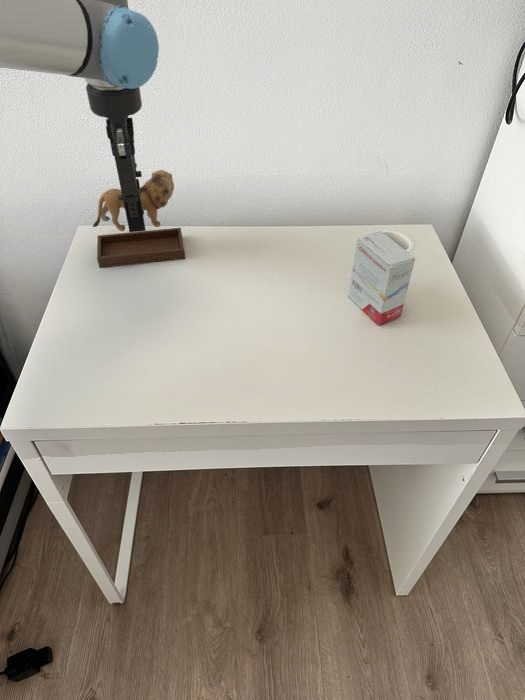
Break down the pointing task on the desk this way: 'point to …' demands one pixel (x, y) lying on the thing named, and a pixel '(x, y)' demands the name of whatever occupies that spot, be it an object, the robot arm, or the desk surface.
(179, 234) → the tray
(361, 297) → the ink box
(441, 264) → the desk surface
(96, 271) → the desk surface
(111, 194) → the lion figurine
